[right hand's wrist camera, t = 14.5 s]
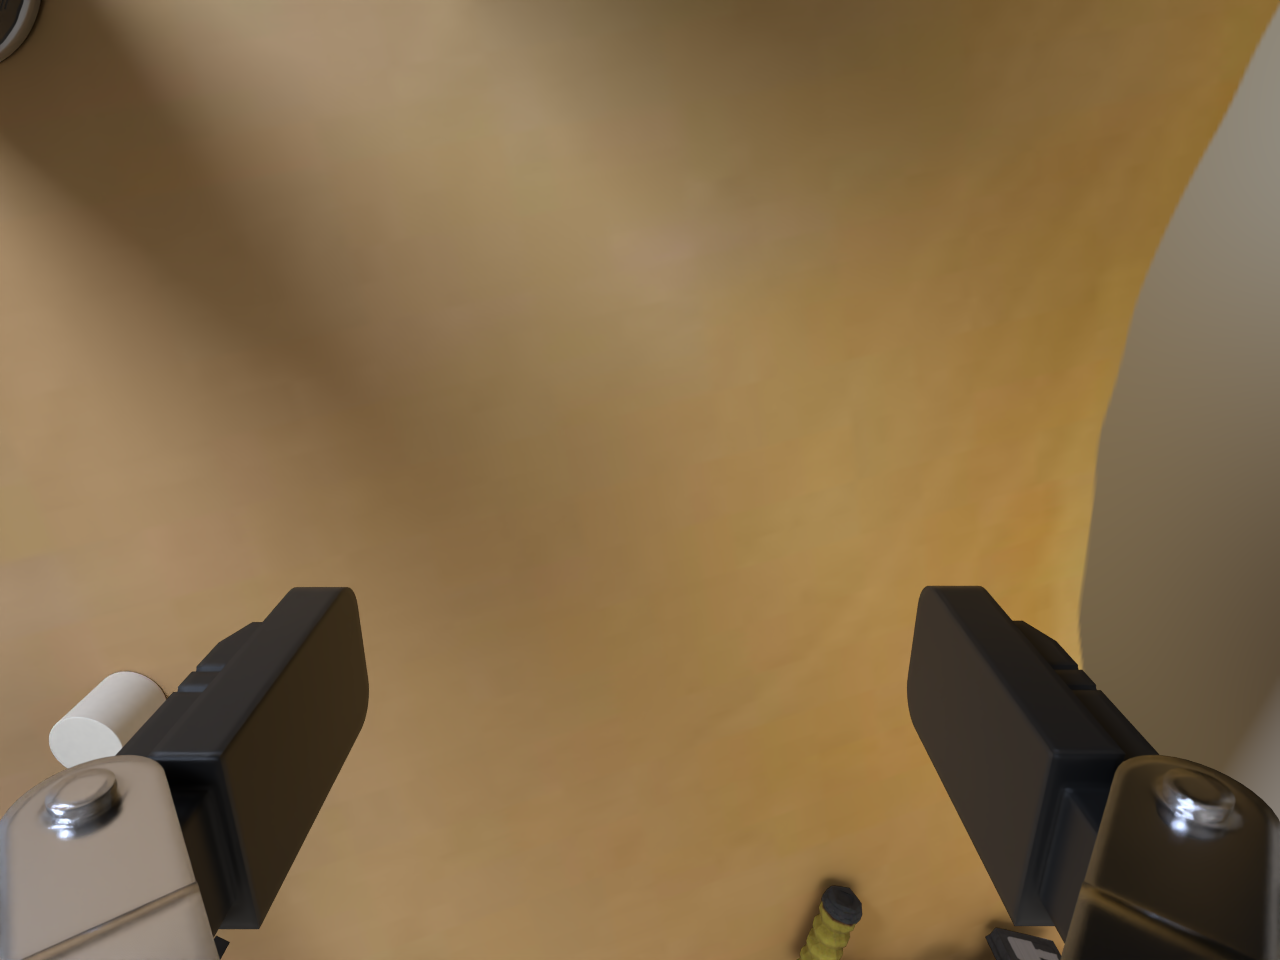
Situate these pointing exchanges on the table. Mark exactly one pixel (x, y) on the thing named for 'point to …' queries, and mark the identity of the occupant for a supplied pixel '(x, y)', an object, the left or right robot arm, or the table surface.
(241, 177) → the table surface
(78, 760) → the canister
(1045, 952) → the toy gun
